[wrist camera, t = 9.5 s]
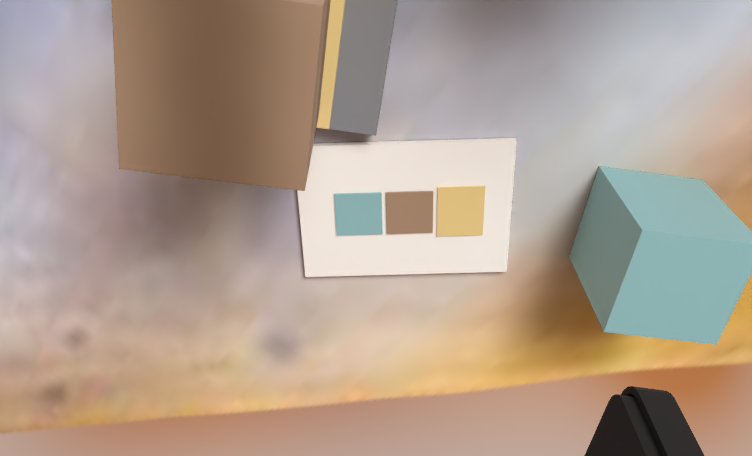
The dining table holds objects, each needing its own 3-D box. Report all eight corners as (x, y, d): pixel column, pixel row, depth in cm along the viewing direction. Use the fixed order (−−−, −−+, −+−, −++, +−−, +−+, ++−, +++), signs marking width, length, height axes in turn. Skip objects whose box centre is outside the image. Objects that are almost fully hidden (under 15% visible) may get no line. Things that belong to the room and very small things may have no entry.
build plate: (414, -123, 26) (425, -111, 21) (375, 125, 31) (376, 186, 26) (144, -168, 26) (84, -167, 20) (148, 94, 30) (100, 150, 25)
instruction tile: (515, 137, 32) (516, 141, 31) (505, 268, 35) (506, 272, 35) (293, 144, 32) (293, 147, 31) (305, 273, 35) (305, 278, 35)
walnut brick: (334, -36, 22) (323, 5, 17) (318, 114, 24) (304, 190, 19) (173, -60, 22) (110, -24, 16) (173, 95, 24) (119, 168, 19)
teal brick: (701, 179, 33) (764, 245, 28) (665, 268, 35) (716, 344, 30) (598, 165, 32) (642, 230, 27) (568, 256, 35) (603, 331, 30)
